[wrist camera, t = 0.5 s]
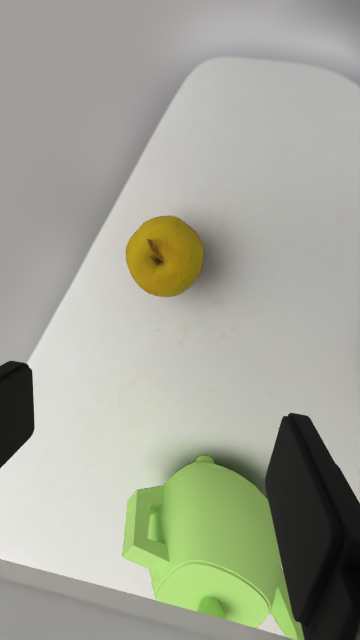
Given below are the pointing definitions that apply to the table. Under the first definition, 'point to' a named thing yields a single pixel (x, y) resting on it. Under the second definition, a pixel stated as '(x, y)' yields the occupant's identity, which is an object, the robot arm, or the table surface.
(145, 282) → the apple
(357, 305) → the table surface
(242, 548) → the teapot
